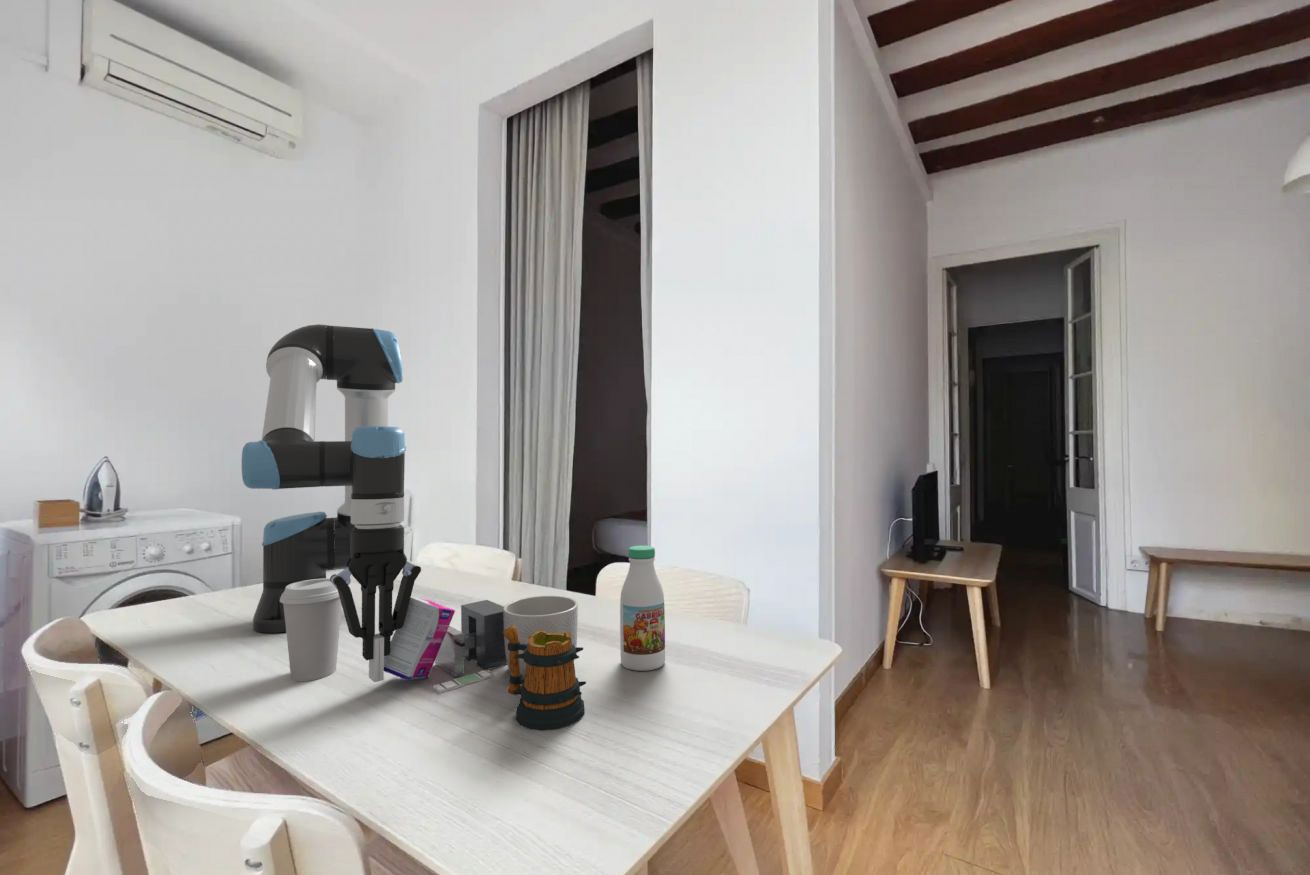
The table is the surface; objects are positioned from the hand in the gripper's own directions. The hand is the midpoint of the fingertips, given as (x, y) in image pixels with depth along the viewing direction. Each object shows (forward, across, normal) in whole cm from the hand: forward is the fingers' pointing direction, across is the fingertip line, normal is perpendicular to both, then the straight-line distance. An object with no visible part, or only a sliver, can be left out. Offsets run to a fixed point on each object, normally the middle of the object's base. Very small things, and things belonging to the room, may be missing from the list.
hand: (376, 678), depth 87 cm
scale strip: (+2, +11, -6) cm, 13 cm away
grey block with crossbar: (+2, +17, -1) cm, 17 cm away
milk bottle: (+2, +37, -20) cm, 42 cm away
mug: (+2, +15, -24) cm, 28 cm away
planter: (+2, +23, -10) cm, 25 cm away
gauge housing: (+2, +18, 0) cm, 18 cm away
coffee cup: (+2, -5, +15) cm, 16 cm away
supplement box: (+1, +4, 0) cm, 4 cm away
